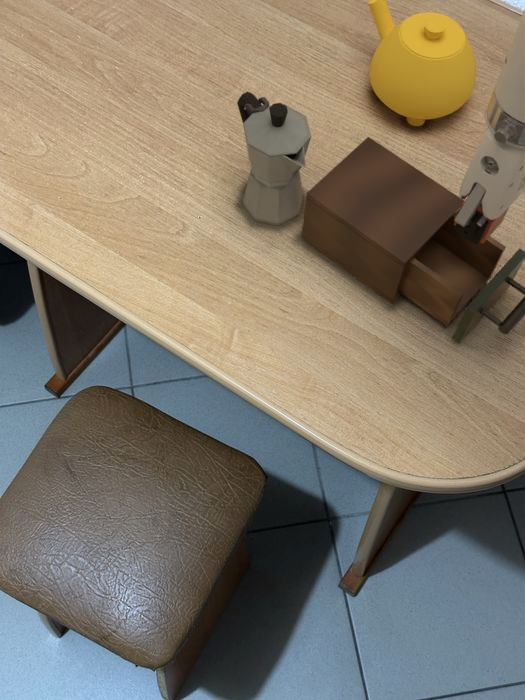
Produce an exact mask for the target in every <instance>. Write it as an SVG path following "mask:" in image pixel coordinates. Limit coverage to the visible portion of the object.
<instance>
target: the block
mask: <svg viewBox="0 0 525 700" xmlns="http://www.w3.org/2000/svg"><path fill="white" fill-rule="evenodd" d="M466 200H467V198H465V200H464V202H463V203H462V205H461V208H462V207H463V205H464V203H465V202H466ZM510 207H511V205H510V206H509V208H508V209H507V210H506V211H505V212H504V213H503V214H502V215H501V216H500V217H498V218H497V219H494V220H490V219H489V218H487V221H489V223H488V225H487V227H486V230H485V232H484V234H483V236H482V238H481V240H480V243H482V244H483V243H484V242H485V241H486V240H487V238H488V237H489V236H491V235H493V233H494V232H495V231H496V230H497V229H498V228H499V226H500V225H501V224H502V223H503V221H504V219H505V217H506V215H507V213H508V211H509V209H510ZM461 208H460V210H461ZM460 210H459V212H460ZM477 210H478V211H479V212H481V213H483V209H482V207H481V206H479V207H478V208H477ZM456 223H457V222H455V223H454V225H455V226H456Z"/></svg>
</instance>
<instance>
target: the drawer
mask: <svg viewBox="0 0 525 700" xmlns="http://www.w3.org/2000/svg"><path fill="white" fill-rule="evenodd" d="M457 215H458V214H457V213H456V214H455V215H454V216H453V217H452V218H451V219H450V220H449V221H448V222H447V223H446V224H445V225H444V226H443V227H442V228H441V229H440V230H439V231H438V233H437V234H436V235H435V236H434V237H433V238H432V239H431V240H430V241H429V242H428V243H427V244H426V245H425V246H424V247H423V248H422V249H421V250H420V251H419V252H418V253H417V254H416V255H415V256H414V257H413V258H412V259H411V260H410V261H409V263H408V265H407V268H406V271H405V274H404V277H403V280H402V283H401V286H400V289H399V292H401V293H402V294H401V295H403V296H404V297H406V298H408V299H409V300H411V301H412V302H413V303H414V304H416V305H417V306H418V307H420V308H421V309H423V310H424V311H425V312H427V313H428V314H429V315H431V316H432V317H434V318H435V319H437V321H439V322H440V323H442V324H443V325H445V326H446V327H448V326H449V325H450V324H451V323H452V322H453V321H454V319H456V317H457V316H458V315H459V314H460V313H461V311H462V310H464V308H465V307H466V308H465V310H464V312H463V313H462V316H461V318H460V321H459V322H458V325H457V327H456V328H455V331H454V333H453V334H452V337H451V339H452V340H454V341H455V342H457V343H458V344H461V342H462V341H463V340H464V339H465V338H466V337H467V336H468V335H469V333H470V332H471V331H472V330H473V329H474V327H475V326H476V325H477V324H478V323H479V322H480V321H481V320H482V319H483V318H486V319H488V320H489V321H490V322H492V323H493V324H495V325H496V326H497V329H498V331H499V332H500V333H501V334H504V335H509V334H510V333H511V332H512V330H513V329H514V328H515V327H516V326H517V325H518V323H519V322H520V321H521V320H522V319H523V318H524V317H525V286H523V285H522V284H521V283H519V282H518V281H516V280H515V278H516V276H517V274H518V272H519V270H520V269H521V267H522V265H523V263H524V261H525V250H524V249H522V248H521V247H519V248H518V249H517V250H516V251H515V252H514V254H513V255H512V256H511V257H510V258H509V259H508V260H507V261H506V263H505V264H504V265H503V266H501V268H500V270H498V272H497V273H496V274H495V275H494V276H493V274H494V273H495V272H494V271H495V270H496V268H497V266H498V264H499V262H500V260H501V258H502V256H503V254H504V252H505V250H506V247H507V246H506V245H504V244H503V243H501V242H500V241H498V240H497V239H495V238H494V237H492V236H491V235H490V236H489V237H488V238H487V240H486V241H485V242H484V243H483V244H482V243H480V242H479V243H478V244H474V243H473V242H471V241H470V240H468V239H465V238H464V237H462V236H461V235H460V234H459V233H458V232H456V231H455V225H454V223H455V221H454V220H455V218H456V216H457ZM492 276H493V277H492ZM487 282H488V283H487ZM510 287H512V288H513V289H515V290H516V291H518V292H520V293H521V294H522V295H523V298H521V300H520V301H519V302H518V303H517V304H516V305H515V307H514V308H513V309H512V310H511V311H510V312H509V314H508V315H507V316H506V317H505V318H504V319H503V320H501V319H500V318H498V317H497V316H496V315H494V314H493V313H492V312H490V310H491V309H492V308H493V306H494V305H495V304H496V302H497V301H499V300H500V298H501V297H502V296H503V295H504V293H506V292H507V290H508V289H509V288H510ZM481 289H482V290H481ZM479 291H480V292H479ZM478 292H479V293H478ZM471 300H472V301H471Z"/></svg>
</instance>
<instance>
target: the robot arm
mask: <svg viewBox="0 0 525 700" xmlns="http://www.w3.org/2000/svg"><path fill="white" fill-rule="evenodd" d="M507 51H508V52H507V54H506V57H505V59H504V61H503V65H502V67H501V70H500V73H499V75H498V77H497V81H496V83H495V86H494V87H493V88H494V89H493V91H492V94H491V96H490V99H489V102H488V104H487V107H486V110H485V116H484V117H485V122H486V123H485V124H486V126H487V128H486V130H485V132H484V134H483V135H482V137H481V140H480V141H479V143H478V146H477V148H476V150H475V152H474V154H473V157H472V159H471V161H470V163H469V165H468V167H467V170H466V172H465V174H464V177H463V180H462V182H461V185H460V188H459V192H458V195H459V196H458V197H460V200H462V199H463V200H464V201H465V200H466V199H467V200H466V202H465V203H464V205H463V207H462V208H461V210H460V212H459V213H458V215H457V216H456V218H455V220H454V221H455V222H457V223H456V226H455V231H456V232H458V233H459V234H460V235H461V236H462V237H464V238H465V239H468V240H470V241H471V242H473V243H474V244H478V243H479V242H480V240H481V238H482V236H483V234H484V232H485V230H486V227H487V225H488V223H489V221H487V218H489V219H490V220H494V219H497V218H498V217H500V216H501V215H502V214H503V213H504V212H505V211H506V210H507V209H508V208H509V209H510V207H511V206H512V205H513V204H514V202H516V200H518V198H519V197H520V196H521V195H522V194H523V192H524V191H525V9H524V10H523V13H522V14H521V17H520V20H519V22H518V25H517V28H516V30H515V32H514V35H513V38H512V40H511V43H510V46H509V48H508V50H507ZM479 206H481V207H482V209H483V213H481V212H479V211H478V210H477V208H478V207H479ZM509 206H510V207H509ZM509 209H508V210H509Z"/></svg>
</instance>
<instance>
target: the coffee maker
mask: <svg viewBox="0 0 525 700" xmlns="http://www.w3.org/2000/svg"><path fill="white" fill-rule="evenodd" d="M236 105H237V108H238V112H239V115H240V118H241V121H242V126H243V133H244V137H245V144H246V149H247V156H248V160H249V162H250V172H249V175H248V179H247V183H246V187H245V191H244V195H243V199H242V204H241V205H242V206H243V208H244V209H245V210H246V211H247V213H248V214H249V216H250V217H251V219H252V220H253V221H254V222H258V223H262V224H263V223H264V224H268V225H273V226H277V227H278V226H281V225H283V224H284V223H286V222H289V221H290V220H292V219H294V218H296V217H298V216H299V214H300V212H301V211H300V210H301V205H302V202H303V198H304V195H303V186H302V180H301V172H300V170H301V169H302V168H306V167H307V163H306V155H307V152H308V148H309V146H310V142H311V139H312V133H311V129H310V126H309V125H310V124H309V122H308V118H307V115H305V114H304V113H301V112H299V110H297V109H294V108H292V107H291V106H288V105H287V104H285V103H282V102H276V103H273V104H271V105H270V102H269V100H268V99H267V98H266V97H265V96H261V97H258V98H257V96H256V95H255V94H253V93H252V92H250V91H246V92H244V93H242V94H241V95H240V96H239V98H238V99H237V102H236Z"/></svg>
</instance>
